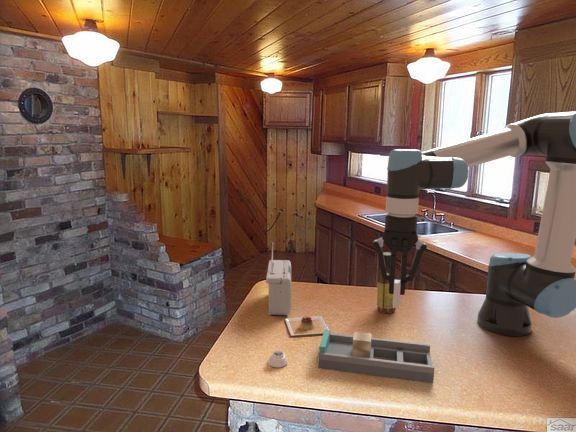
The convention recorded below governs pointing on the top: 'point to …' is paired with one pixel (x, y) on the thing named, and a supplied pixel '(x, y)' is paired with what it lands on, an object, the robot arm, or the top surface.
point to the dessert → (306, 324)
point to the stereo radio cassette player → (279, 286)
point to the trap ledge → (339, 357)
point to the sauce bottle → (385, 289)
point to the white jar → (277, 359)
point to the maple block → (361, 344)
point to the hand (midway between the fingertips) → (395, 305)
